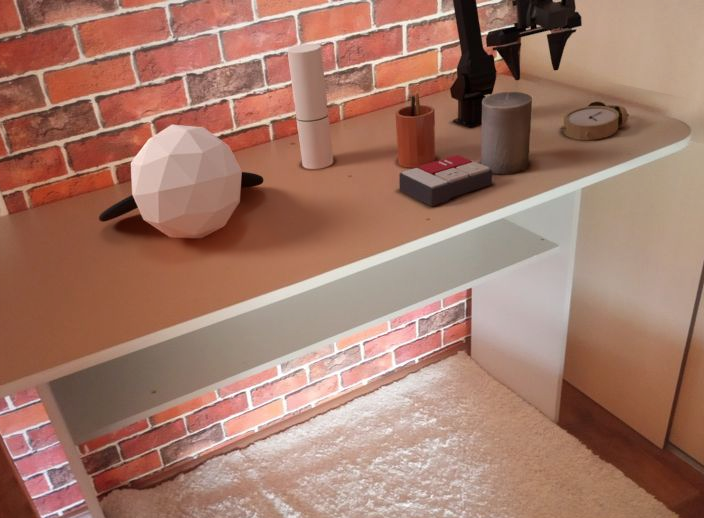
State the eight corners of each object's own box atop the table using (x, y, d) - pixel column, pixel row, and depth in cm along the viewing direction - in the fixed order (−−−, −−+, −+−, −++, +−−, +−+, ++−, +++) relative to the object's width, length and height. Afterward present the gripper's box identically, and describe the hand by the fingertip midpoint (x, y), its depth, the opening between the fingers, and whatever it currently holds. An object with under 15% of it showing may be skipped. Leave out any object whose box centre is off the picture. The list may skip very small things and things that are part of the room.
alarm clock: (551, 120, 157) (599, 90, 161) (552, 140, 160) (599, 111, 164) (593, 131, 149) (641, 99, 152) (593, 152, 152) (641, 121, 156)
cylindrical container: (334, 155, 164) (322, 42, 150) (332, 167, 158) (319, 50, 144) (304, 158, 165) (289, 45, 151) (300, 170, 159) (285, 54, 145)
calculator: (494, 166, 138) (432, 185, 133) (492, 187, 141) (431, 206, 135) (458, 152, 146) (398, 169, 141) (457, 172, 149) (398, 190, 144)
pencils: (406, 156, 155) (403, 91, 147) (418, 152, 157) (416, 88, 148) (414, 159, 153) (412, 94, 145) (426, 155, 154) (424, 90, 146)
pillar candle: (534, 159, 148) (539, 86, 139) (519, 177, 142) (523, 101, 133) (489, 154, 153) (491, 84, 144) (473, 172, 146) (474, 99, 138)
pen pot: (391, 161, 157) (388, 111, 151) (420, 151, 160) (418, 102, 153) (413, 171, 151) (410, 119, 145) (442, 160, 154) (441, 109, 147)
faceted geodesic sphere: (112, 267, 123) (75, 142, 117) (108, 250, 151) (78, 147, 144) (300, 221, 131) (275, 100, 124) (263, 212, 158) (241, 113, 152)
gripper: (514, -6, 128) (521, 84, 134) (599, -25, 132) (602, 63, 138) (480, 2, 138) (488, 85, 144) (560, -16, 142) (565, 65, 148)
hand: (536, 75), depth 143 cm, fingers open, 9 cm apart
